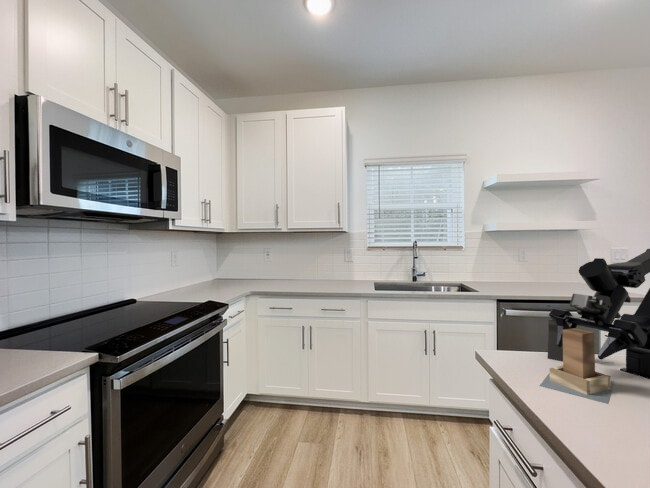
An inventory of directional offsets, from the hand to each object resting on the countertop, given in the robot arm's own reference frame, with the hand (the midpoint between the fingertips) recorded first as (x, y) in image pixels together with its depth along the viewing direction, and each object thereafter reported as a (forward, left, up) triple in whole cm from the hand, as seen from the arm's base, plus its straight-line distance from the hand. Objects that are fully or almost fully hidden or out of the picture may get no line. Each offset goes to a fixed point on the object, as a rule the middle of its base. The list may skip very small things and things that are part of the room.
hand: (577, 352), depth 76 cm
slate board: (0, 0, -9) cm, 9 cm away
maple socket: (0, 0, -8) cm, 8 cm away
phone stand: (-15, -15, -9) cm, 24 cm away
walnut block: (0, 0, -8) cm, 8 cm away
